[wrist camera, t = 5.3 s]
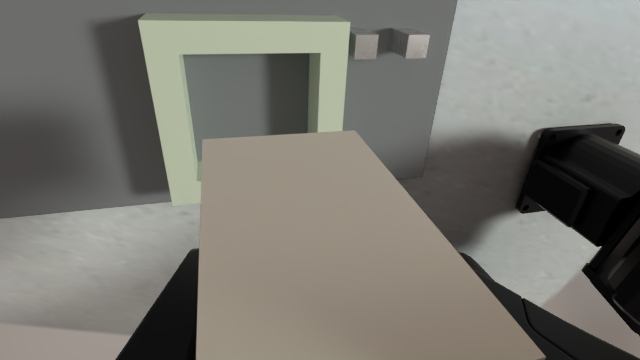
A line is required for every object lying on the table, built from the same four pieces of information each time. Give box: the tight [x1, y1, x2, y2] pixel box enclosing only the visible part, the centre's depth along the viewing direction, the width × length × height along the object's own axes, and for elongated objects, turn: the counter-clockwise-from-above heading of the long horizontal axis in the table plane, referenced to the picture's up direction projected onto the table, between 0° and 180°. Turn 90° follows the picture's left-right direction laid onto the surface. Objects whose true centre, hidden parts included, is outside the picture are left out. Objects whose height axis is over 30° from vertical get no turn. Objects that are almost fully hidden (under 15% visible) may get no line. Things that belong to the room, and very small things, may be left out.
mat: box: [0, 0, 457, 218], centre depth 17 cm, size 22×17×1 cm
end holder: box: [138, 13, 350, 206], centre depth 17 cm, size 8×8×2 cm
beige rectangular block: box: [196, 130, 546, 360], centre depth 8 cm, size 4×4×7 cm
